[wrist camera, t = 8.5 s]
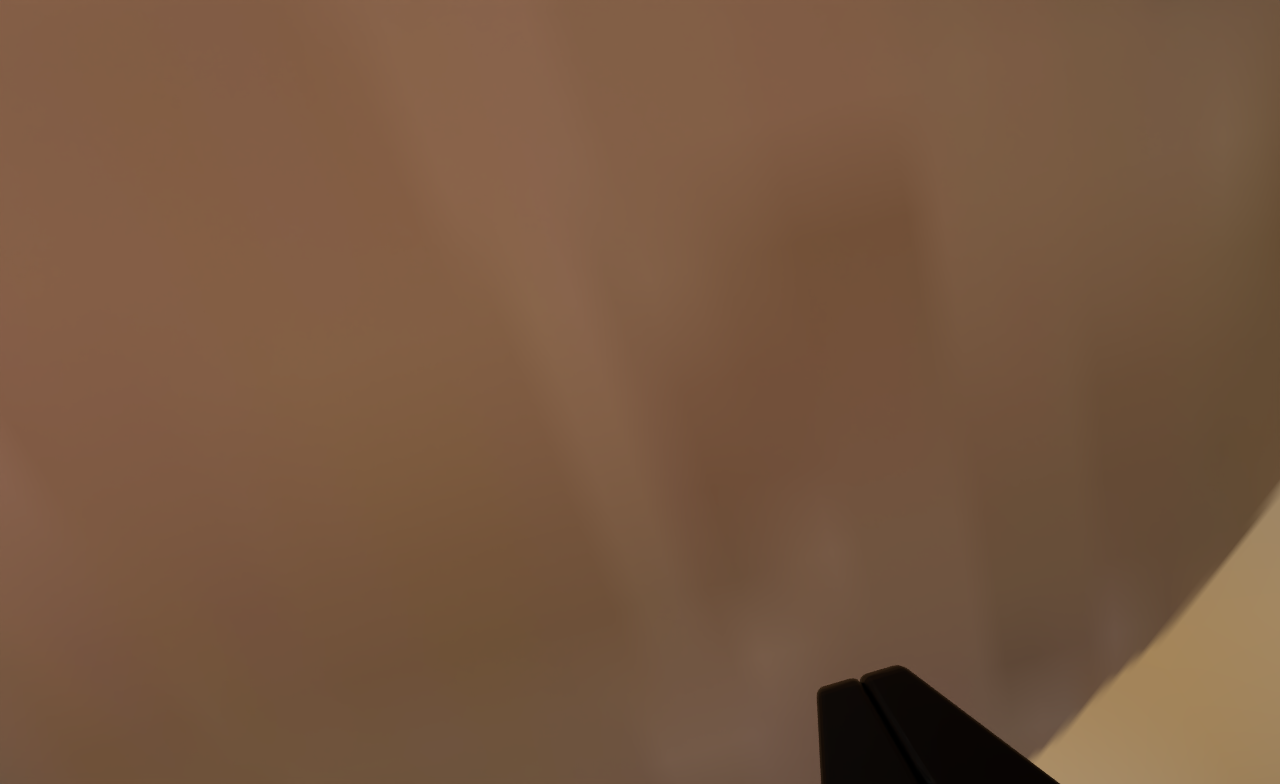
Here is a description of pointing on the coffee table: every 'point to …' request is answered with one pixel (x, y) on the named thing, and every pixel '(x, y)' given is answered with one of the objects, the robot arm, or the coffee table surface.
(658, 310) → the coffee table surface
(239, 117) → the coffee table surface
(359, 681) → the coffee table surface
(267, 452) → the coffee table surface
